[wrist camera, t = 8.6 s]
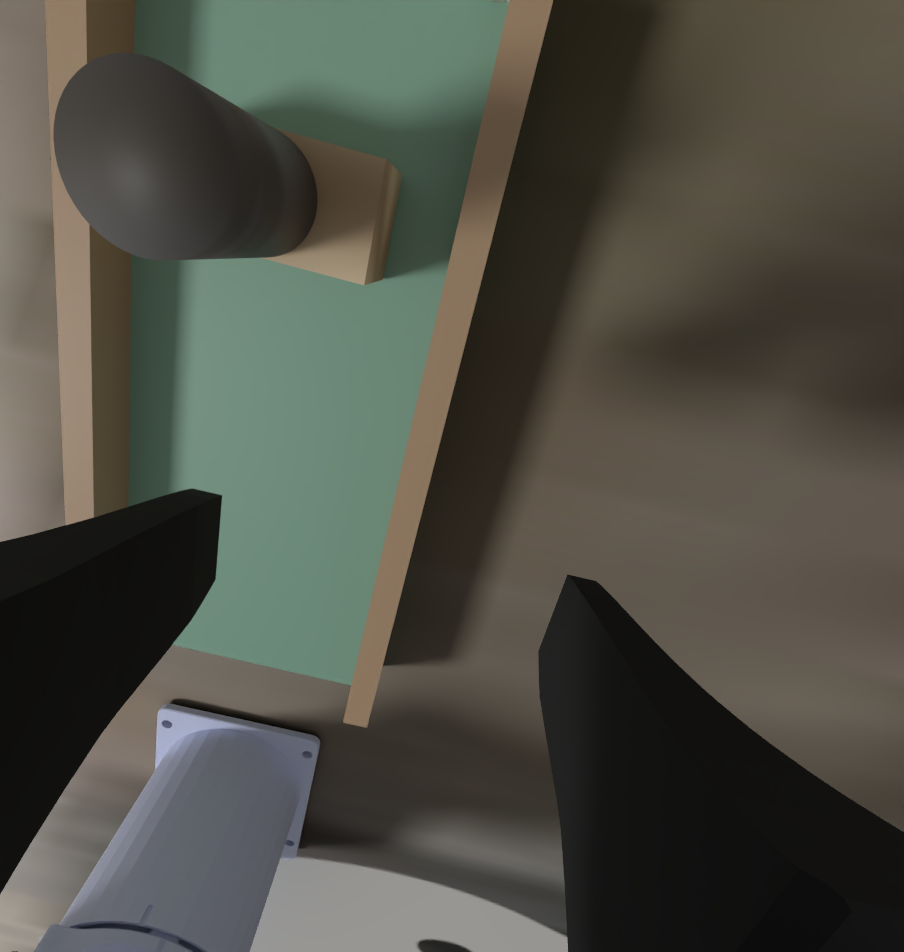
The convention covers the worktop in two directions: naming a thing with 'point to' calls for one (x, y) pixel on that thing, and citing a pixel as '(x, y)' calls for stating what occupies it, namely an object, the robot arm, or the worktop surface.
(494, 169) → the pitch
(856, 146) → the worktop surface
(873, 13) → the worktop surface
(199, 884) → the robot arm
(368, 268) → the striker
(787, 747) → the worktop surface
